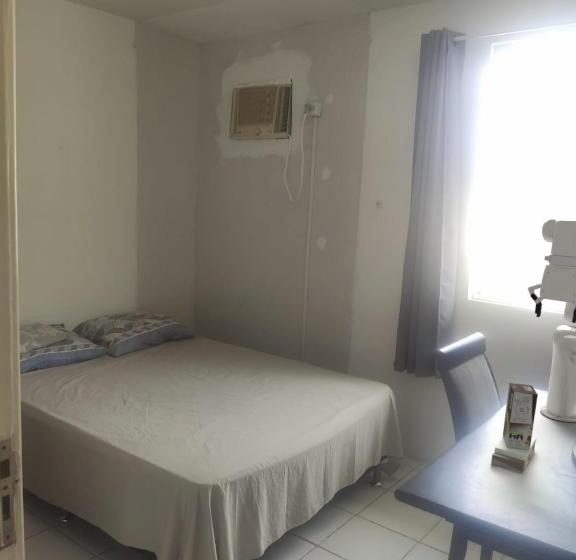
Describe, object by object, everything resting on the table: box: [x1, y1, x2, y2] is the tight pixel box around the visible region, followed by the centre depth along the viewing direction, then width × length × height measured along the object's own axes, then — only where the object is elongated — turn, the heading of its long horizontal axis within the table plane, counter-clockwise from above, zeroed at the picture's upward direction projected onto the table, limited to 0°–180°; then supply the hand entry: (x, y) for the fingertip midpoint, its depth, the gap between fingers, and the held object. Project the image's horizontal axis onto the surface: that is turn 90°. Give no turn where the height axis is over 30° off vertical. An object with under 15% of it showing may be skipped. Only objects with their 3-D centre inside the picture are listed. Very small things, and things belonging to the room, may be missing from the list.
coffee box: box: [502, 382, 539, 450], centre depth 159 cm, size 9×6×16 cm
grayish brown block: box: [490, 443, 536, 475], centre depth 159 cm, size 18×8×3 cm, turn 147°
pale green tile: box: [493, 436, 537, 461], centre depth 160 cm, size 16×8×2 cm, turn 147°
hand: (555, 319), depth 166 cm, fingers open, 9 cm apart
